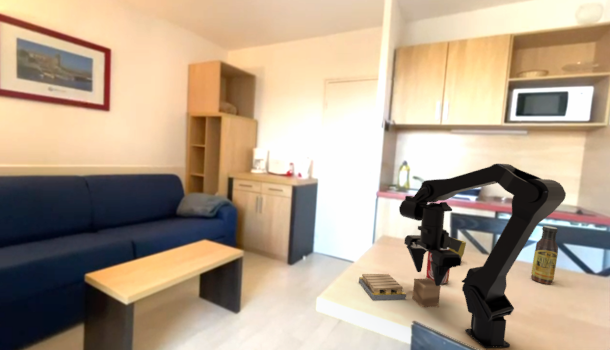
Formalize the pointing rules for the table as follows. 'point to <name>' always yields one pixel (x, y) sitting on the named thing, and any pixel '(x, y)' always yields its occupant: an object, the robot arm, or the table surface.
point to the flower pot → (462, 248)
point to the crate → (426, 292)
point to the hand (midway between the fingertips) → (427, 278)
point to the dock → (382, 293)
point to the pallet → (382, 283)
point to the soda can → (430, 272)
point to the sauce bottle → (545, 256)
